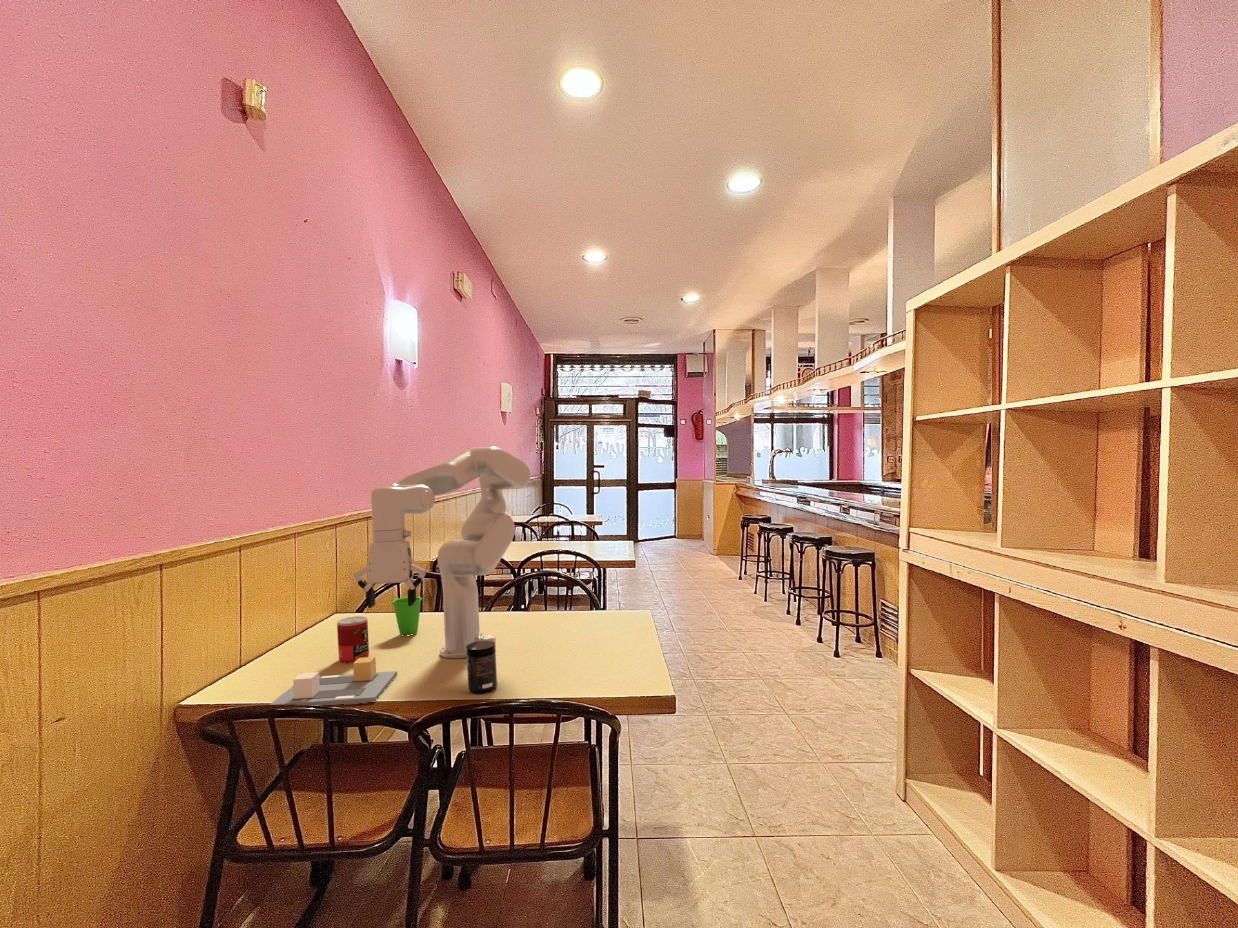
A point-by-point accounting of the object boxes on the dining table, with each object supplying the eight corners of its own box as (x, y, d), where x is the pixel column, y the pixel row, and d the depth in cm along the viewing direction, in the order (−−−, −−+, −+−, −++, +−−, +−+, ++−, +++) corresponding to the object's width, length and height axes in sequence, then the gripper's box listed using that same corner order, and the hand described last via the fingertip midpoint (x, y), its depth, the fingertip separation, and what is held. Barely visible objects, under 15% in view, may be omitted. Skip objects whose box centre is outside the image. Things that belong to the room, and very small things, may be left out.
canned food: (358, 664, 164) (356, 623, 164) (332, 663, 165) (330, 623, 165) (375, 654, 171) (373, 616, 171) (350, 654, 173) (348, 615, 173)
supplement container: (489, 681, 146) (487, 638, 146) (502, 689, 141) (500, 644, 141) (463, 689, 142) (461, 645, 142) (476, 697, 136) (474, 651, 136)
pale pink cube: (319, 690, 141) (318, 672, 141) (312, 697, 137) (311, 678, 137) (302, 691, 141) (301, 673, 141) (294, 698, 137) (293, 679, 137)
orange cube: (376, 674, 151) (375, 656, 151) (370, 680, 147) (370, 662, 147) (359, 675, 150) (359, 657, 150) (353, 681, 146) (353, 663, 146)
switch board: (397, 675, 153) (397, 670, 153) (375, 702, 136) (374, 696, 136) (303, 682, 151) (303, 676, 151) (269, 709, 134) (269, 704, 134)
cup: (418, 637, 186) (416, 602, 186) (388, 639, 186) (387, 603, 186) (427, 629, 195) (426, 595, 195) (399, 630, 195) (398, 596, 195)
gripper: (428, 533, 153) (430, 600, 153) (359, 536, 152) (361, 604, 152) (420, 536, 146) (423, 607, 146) (347, 540, 145) (349, 611, 145)
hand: (391, 605), depth 149 cm, fingers open, 9 cm apart
